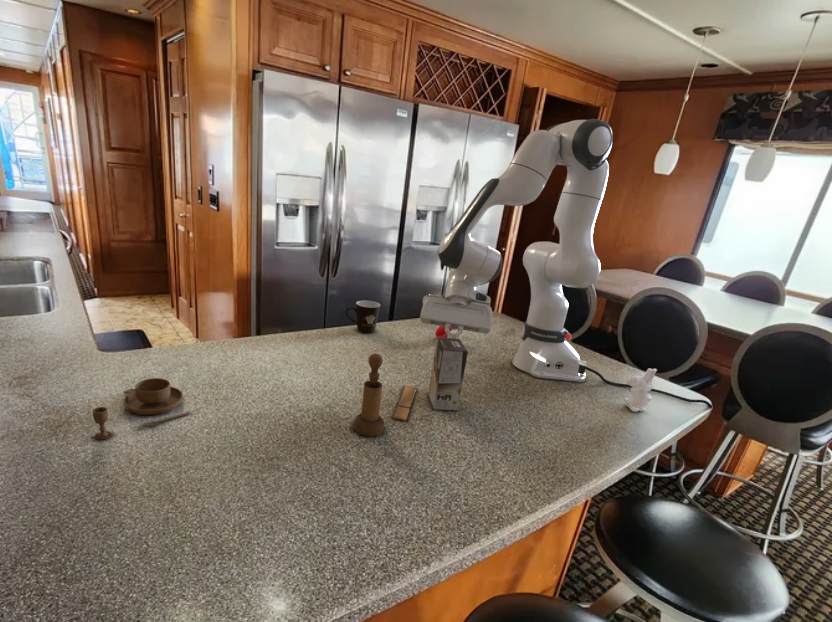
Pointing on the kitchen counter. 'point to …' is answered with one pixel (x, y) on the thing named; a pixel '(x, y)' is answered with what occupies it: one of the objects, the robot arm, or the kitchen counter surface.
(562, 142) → the robot arm
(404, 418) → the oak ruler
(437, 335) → the cap
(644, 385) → the white animal figurine
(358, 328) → the coffee mug
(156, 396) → the place setting
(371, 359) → the mortar and pestle
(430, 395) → the coffee box
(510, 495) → the kitchen counter surface
